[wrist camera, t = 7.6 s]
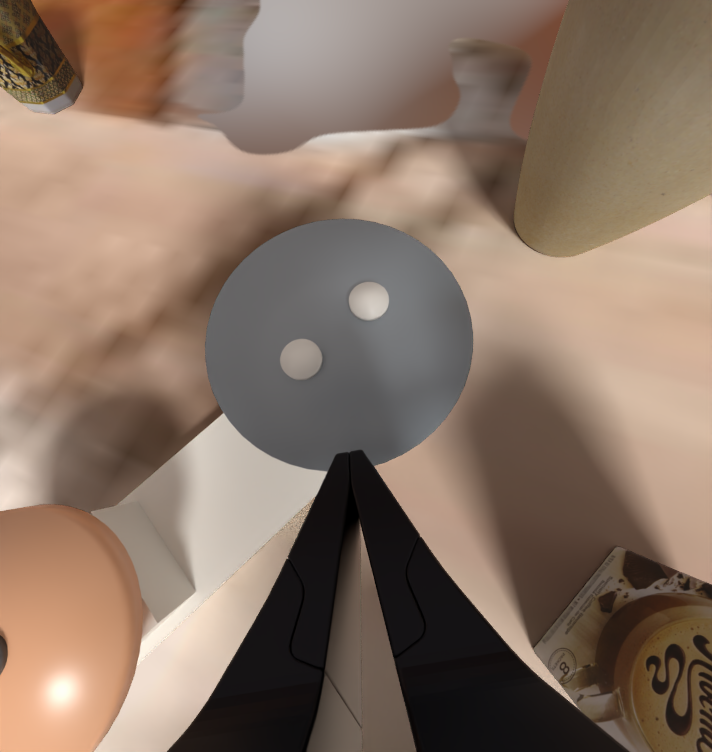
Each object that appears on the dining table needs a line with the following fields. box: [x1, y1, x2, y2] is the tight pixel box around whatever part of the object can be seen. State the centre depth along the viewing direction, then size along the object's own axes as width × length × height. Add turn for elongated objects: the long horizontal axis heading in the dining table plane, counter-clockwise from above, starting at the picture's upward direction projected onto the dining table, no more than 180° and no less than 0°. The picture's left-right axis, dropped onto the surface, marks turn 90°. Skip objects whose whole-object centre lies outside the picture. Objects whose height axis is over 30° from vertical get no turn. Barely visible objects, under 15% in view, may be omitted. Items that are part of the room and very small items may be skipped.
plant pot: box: [514, 0, 712, 257], centre depth 18 cm, size 15×15×16 cm
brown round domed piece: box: [0, 504, 143, 752], centre depth 15 cm, size 12×12×6 cm
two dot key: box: [205, 219, 473, 472], centre depth 16 cm, size 12×12×6 cm
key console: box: [89, 413, 327, 665], centre depth 19 cm, size 34×9×5 cm, turn 132°
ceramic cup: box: [0, 0, 83, 114], centre depth 28 cm, size 13×10×10 cm
